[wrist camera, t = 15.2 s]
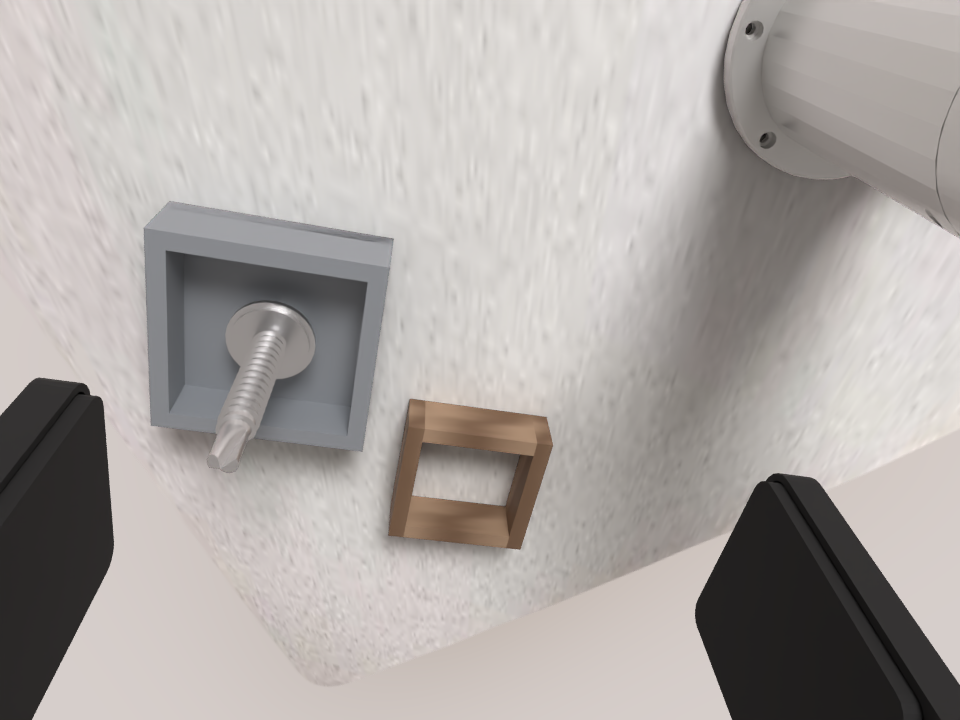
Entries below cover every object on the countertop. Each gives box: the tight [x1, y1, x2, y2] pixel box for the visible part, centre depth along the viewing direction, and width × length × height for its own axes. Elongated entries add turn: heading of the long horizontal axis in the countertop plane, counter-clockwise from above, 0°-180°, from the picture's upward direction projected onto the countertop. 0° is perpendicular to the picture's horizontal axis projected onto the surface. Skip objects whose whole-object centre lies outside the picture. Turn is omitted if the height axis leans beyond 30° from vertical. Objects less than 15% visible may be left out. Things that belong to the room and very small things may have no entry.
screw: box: [207, 300, 316, 473], centre depth 36 cm, size 13×5×5 cm
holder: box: [388, 399, 553, 549], centre depth 47 cm, size 9×9×3 cm
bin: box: [144, 201, 393, 451], centre depth 41 cm, size 12×12×4 cm
